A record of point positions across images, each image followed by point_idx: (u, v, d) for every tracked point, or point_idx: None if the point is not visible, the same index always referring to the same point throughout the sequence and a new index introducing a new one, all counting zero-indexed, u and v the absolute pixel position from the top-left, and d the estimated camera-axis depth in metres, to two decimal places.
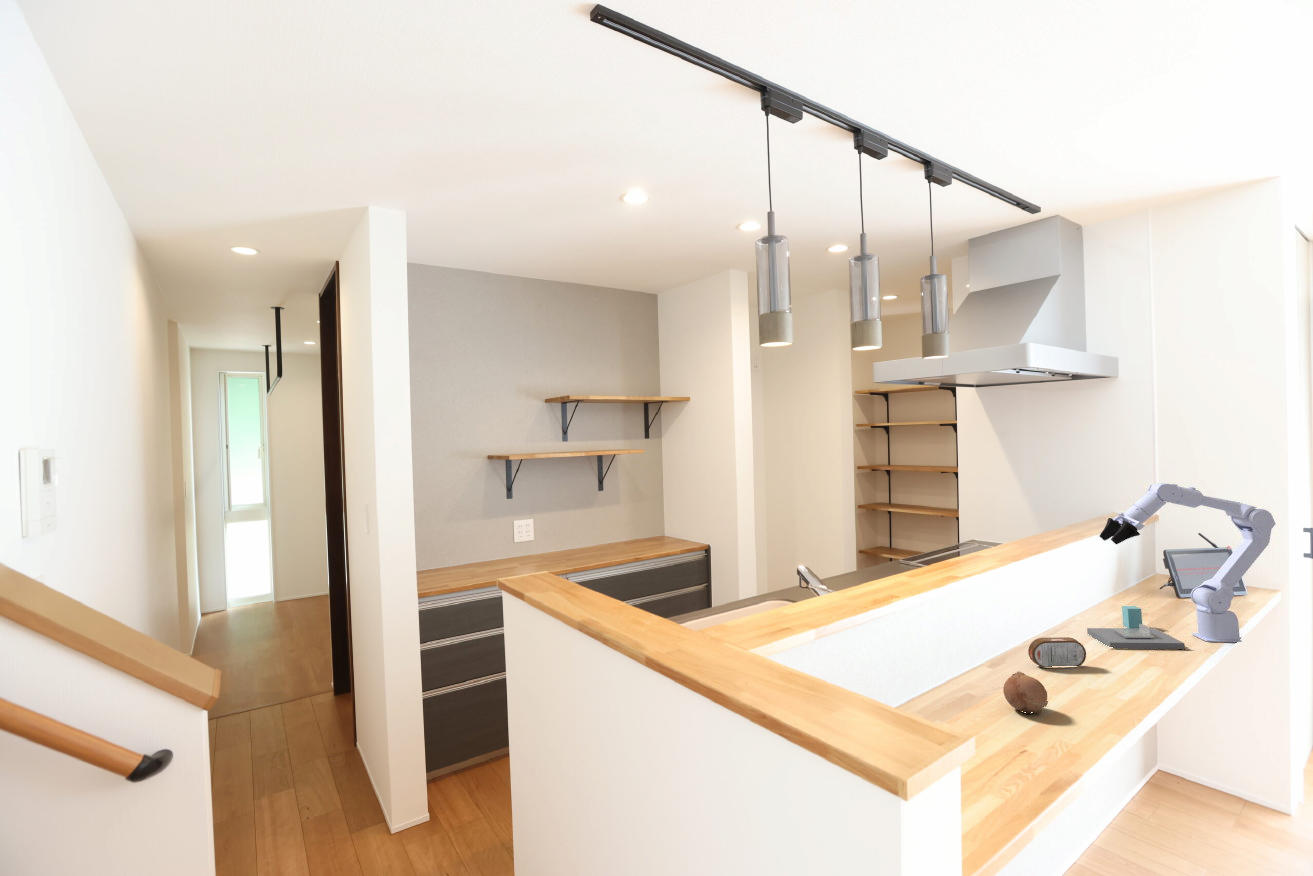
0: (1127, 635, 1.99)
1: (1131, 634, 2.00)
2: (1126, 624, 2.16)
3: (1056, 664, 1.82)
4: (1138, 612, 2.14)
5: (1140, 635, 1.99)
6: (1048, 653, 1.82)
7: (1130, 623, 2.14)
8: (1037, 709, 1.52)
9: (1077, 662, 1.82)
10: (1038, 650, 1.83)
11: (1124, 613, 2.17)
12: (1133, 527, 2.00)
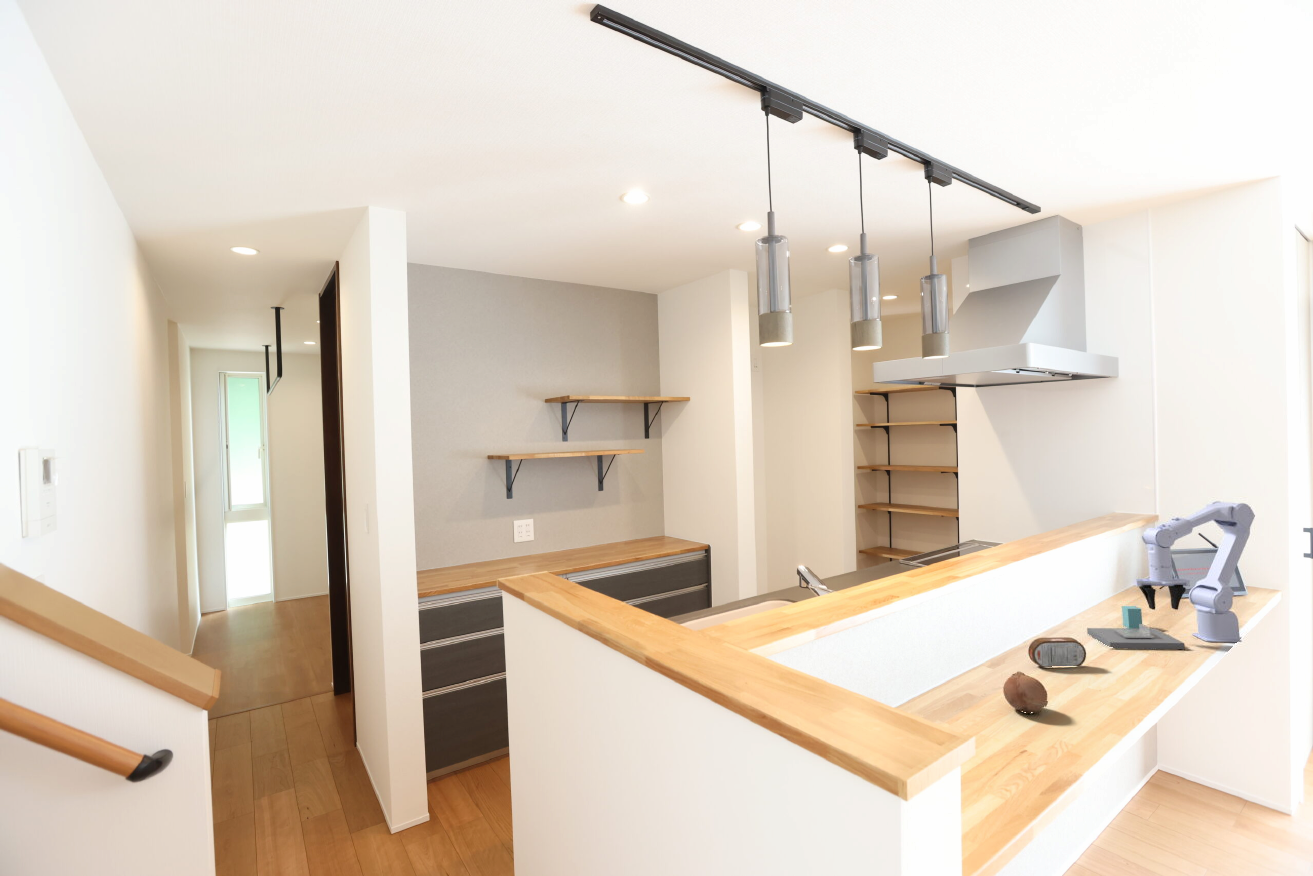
0: (1127, 635, 1.99)
1: (1131, 634, 2.00)
2: (1126, 624, 2.16)
3: (1056, 664, 1.82)
4: (1138, 612, 2.14)
5: (1140, 635, 1.99)
6: (1048, 653, 1.82)
7: (1130, 623, 2.14)
8: (1037, 709, 1.52)
9: (1077, 662, 1.82)
10: (1038, 650, 1.83)
11: (1124, 613, 2.17)
12: None
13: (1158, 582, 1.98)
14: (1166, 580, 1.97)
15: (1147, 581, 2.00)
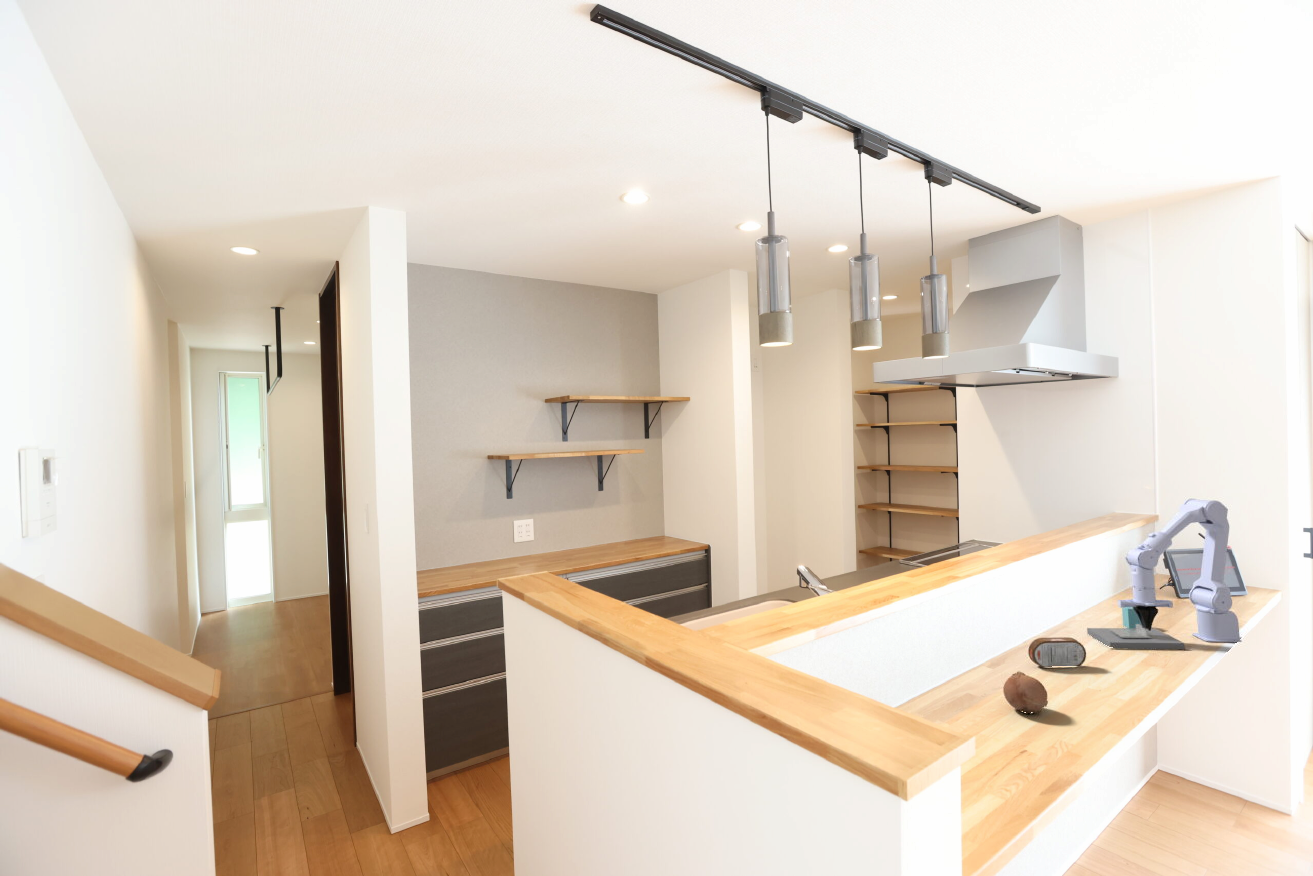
0: (1123, 635, 1.99)
1: (1127, 634, 2.00)
2: (1126, 624, 2.16)
3: (1056, 664, 1.82)
4: None
5: (1136, 635, 1.99)
6: (1048, 653, 1.82)
7: (1130, 623, 2.14)
8: (1037, 709, 1.52)
9: (1077, 662, 1.82)
10: (1038, 650, 1.83)
11: (1124, 613, 2.17)
12: None
13: (1141, 603, 1.99)
14: (1149, 601, 1.98)
15: (1130, 602, 2.01)
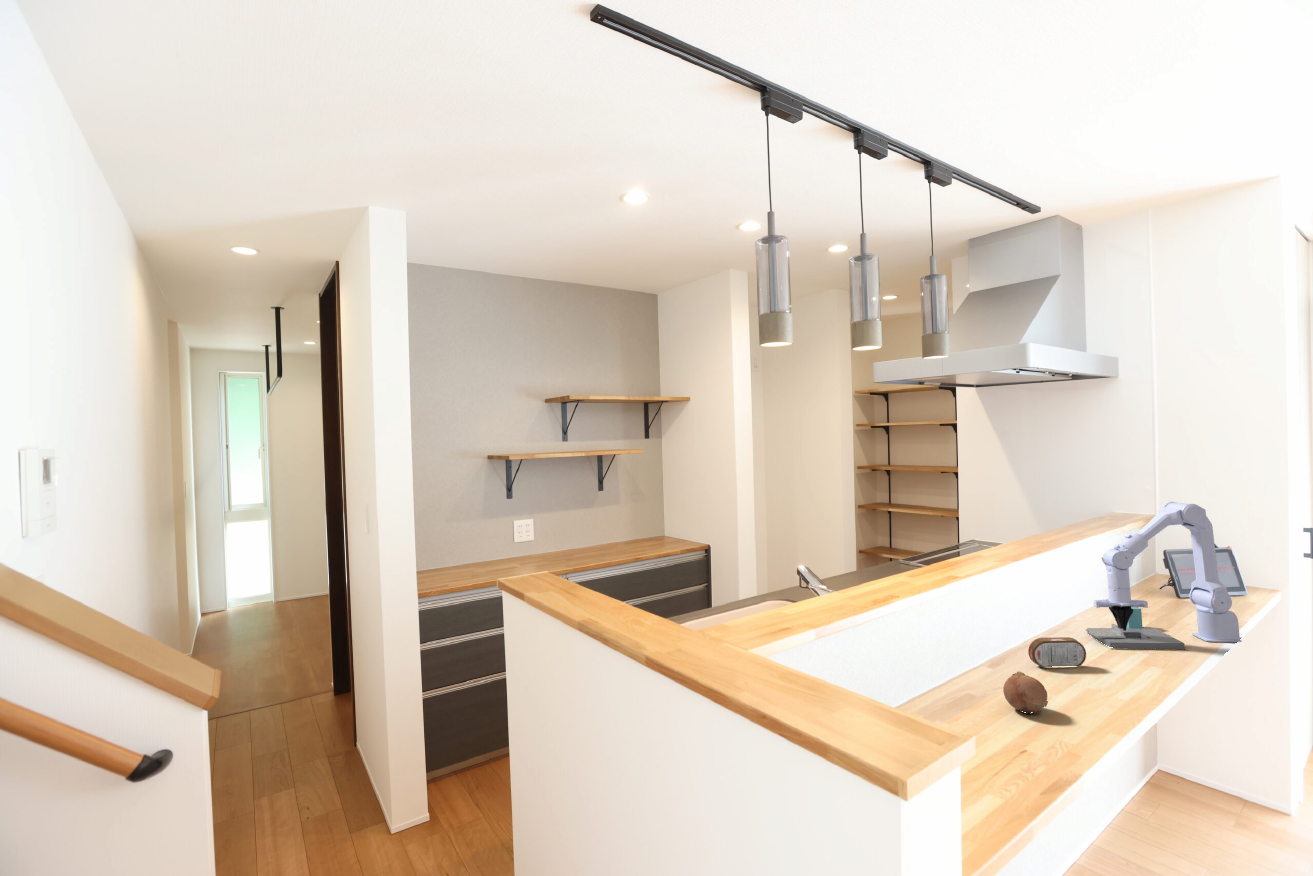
0: (1099, 635, 2.01)
1: (1103, 634, 2.02)
2: None
3: (1056, 664, 1.82)
4: (1138, 612, 2.14)
5: (1111, 635, 2.00)
6: (1048, 653, 1.82)
7: (1130, 623, 2.14)
8: (1037, 709, 1.52)
9: (1077, 662, 1.82)
10: (1038, 650, 1.83)
11: None
12: None
13: (1116, 603, 2.01)
14: (1124, 602, 2.00)
15: (1106, 602, 2.02)
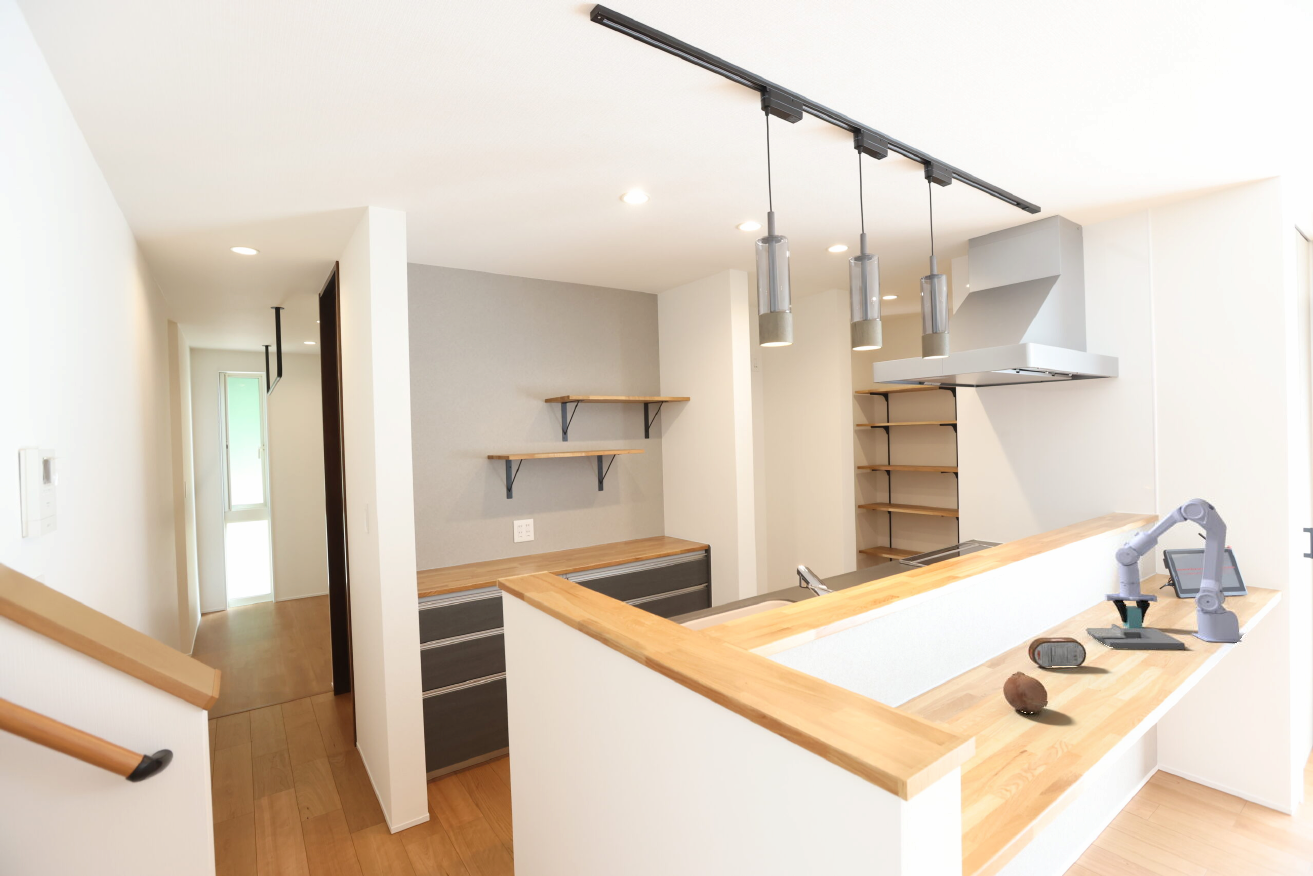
0: (1099, 635, 2.01)
1: (1103, 634, 2.02)
2: (1126, 624, 2.16)
3: (1056, 664, 1.82)
4: (1138, 612, 2.14)
5: (1111, 635, 2.00)
6: (1048, 653, 1.82)
7: (1130, 623, 2.14)
8: (1037, 709, 1.52)
9: (1077, 662, 1.82)
10: (1038, 650, 1.83)
11: None
12: None
13: (1126, 597, 2.14)
14: (1133, 596, 2.13)
15: (1116, 596, 2.16)
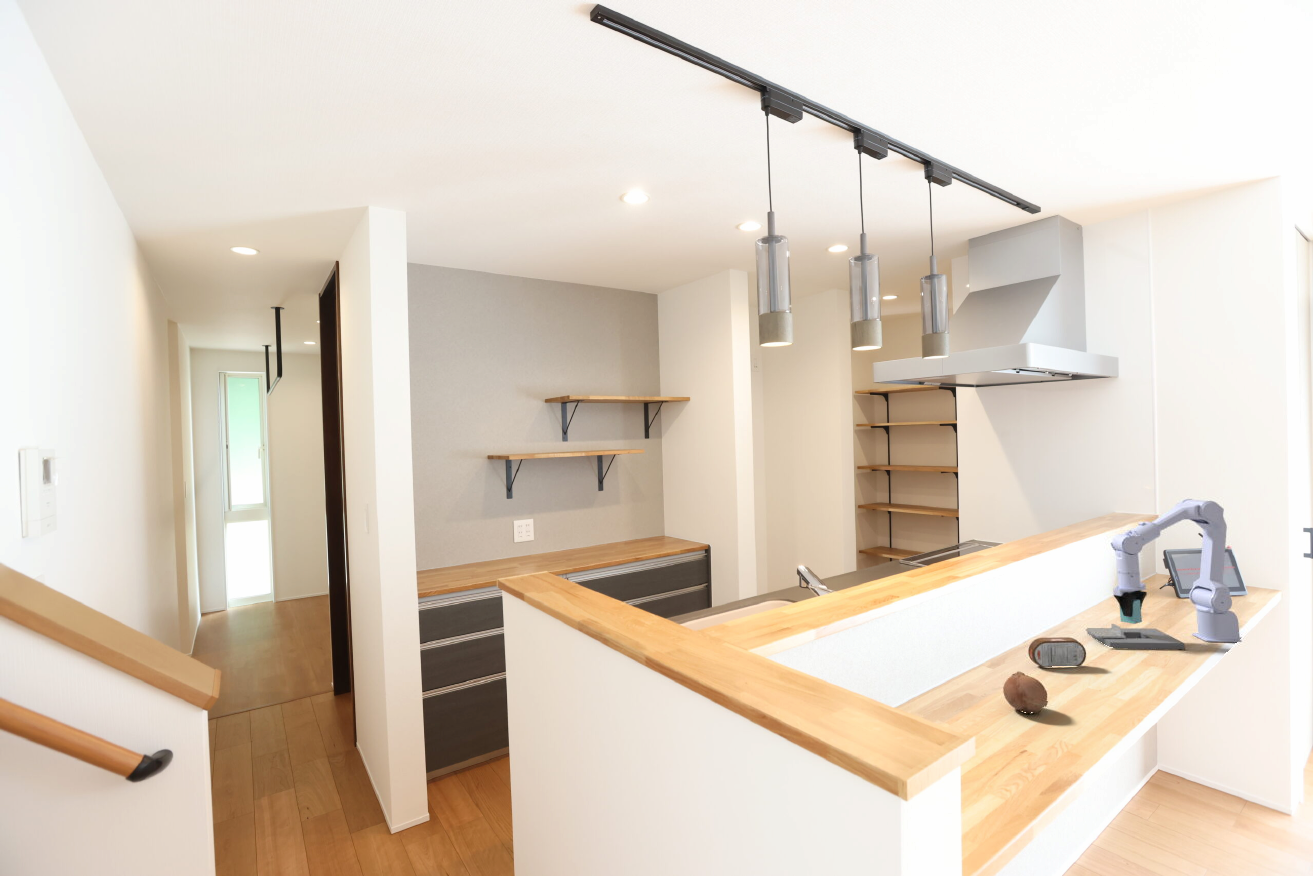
0: (1099, 635, 2.01)
1: (1103, 634, 2.02)
2: (1127, 618, 2.01)
3: (1056, 664, 1.82)
4: (1138, 604, 2.01)
5: (1111, 635, 2.00)
6: (1048, 653, 1.82)
7: (1134, 617, 2.00)
8: (1037, 709, 1.52)
9: (1077, 662, 1.82)
10: (1038, 650, 1.83)
11: None
12: None
13: (1134, 589, 1.99)
14: (1139, 586, 2.00)
15: (1126, 589, 1.99)
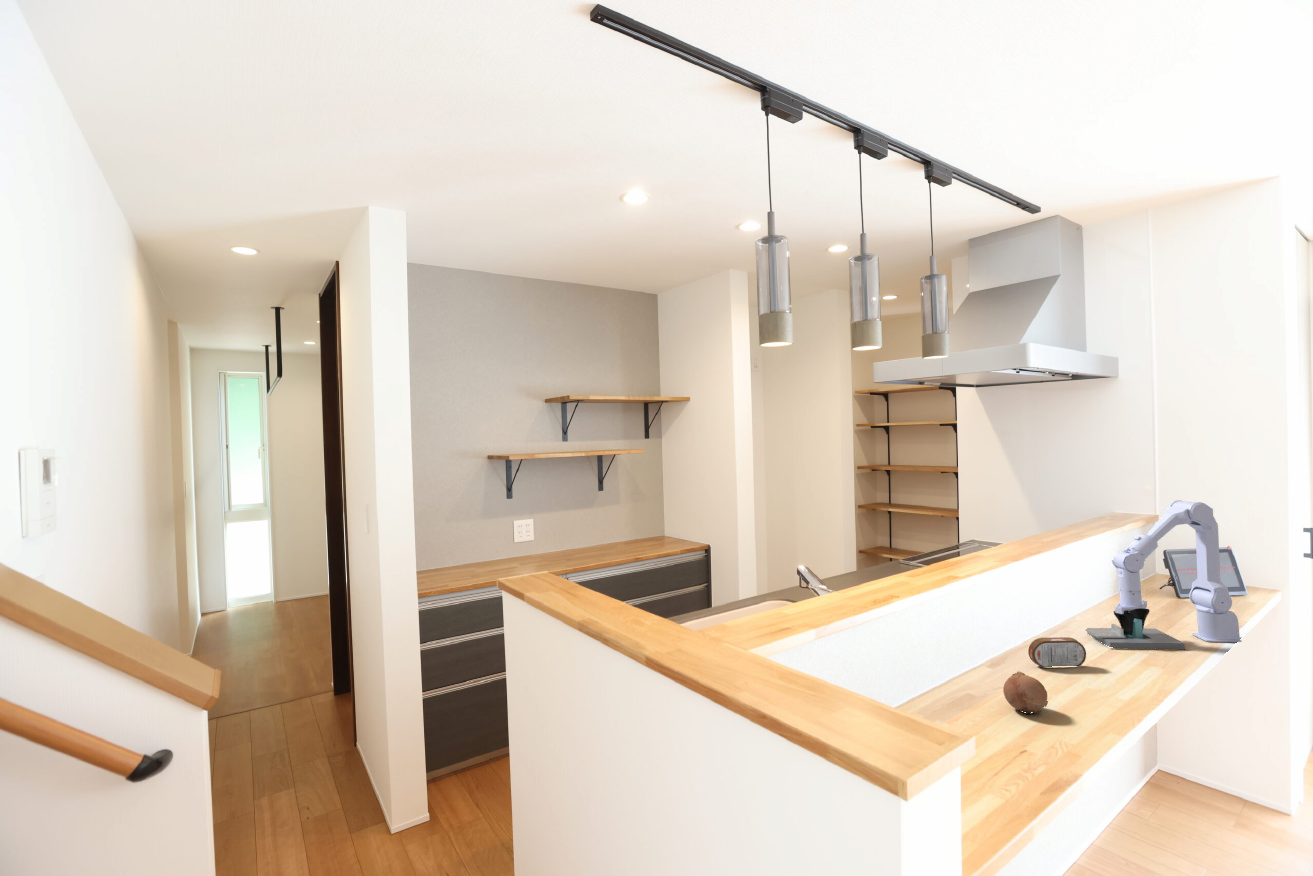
0: (1099, 635, 2.01)
1: (1103, 634, 2.02)
2: None
3: (1056, 664, 1.82)
4: (1140, 624, 2.01)
5: (1111, 635, 2.00)
6: (1048, 653, 1.82)
7: (1137, 637, 1.99)
8: (1037, 709, 1.52)
9: (1077, 662, 1.82)
10: (1038, 650, 1.83)
11: None
12: None
13: (1136, 607, 1.99)
14: (1140, 604, 1.99)
15: (1128, 607, 1.98)
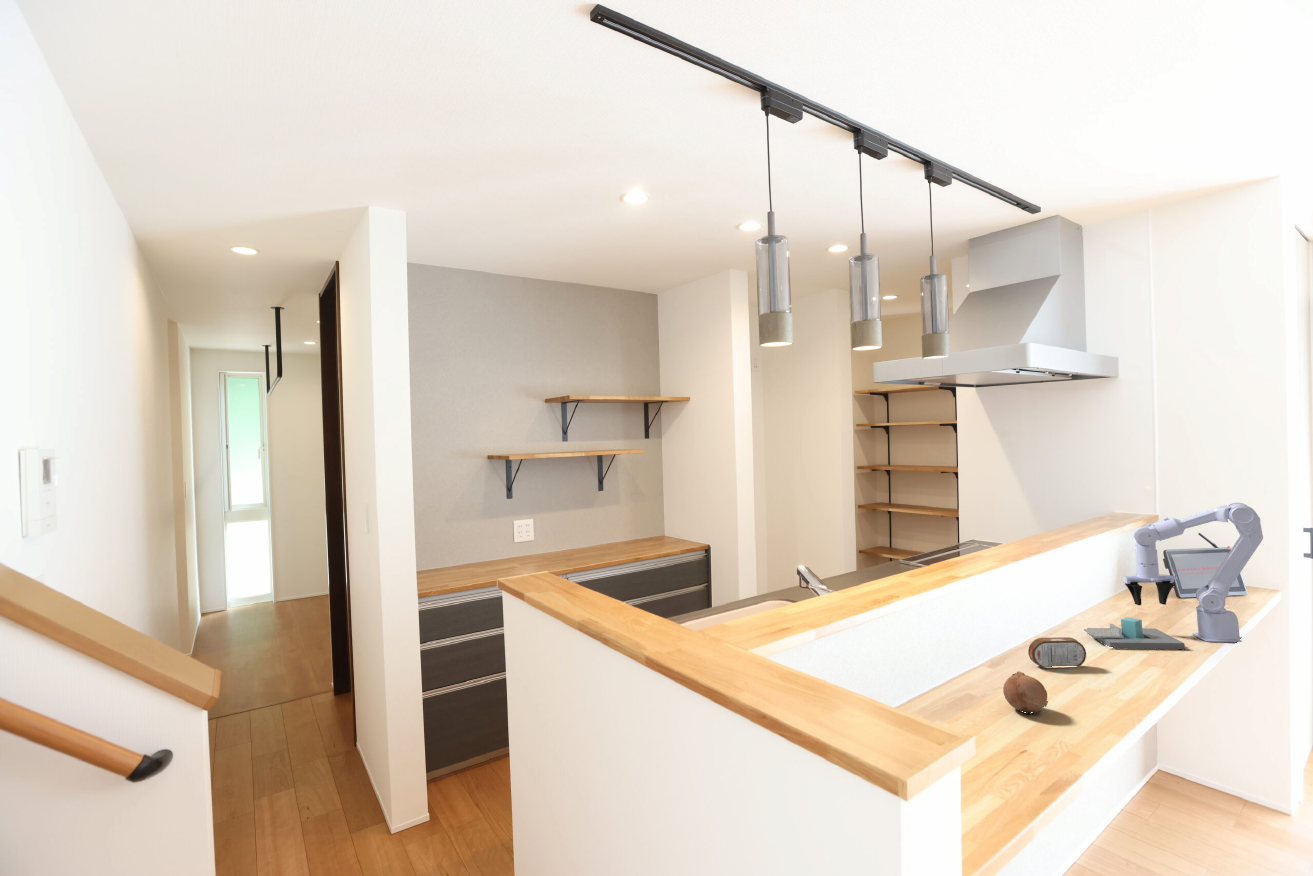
0: (1097, 635, 2.01)
1: (1101, 634, 2.02)
2: None
3: (1056, 664, 1.82)
4: (1140, 624, 2.01)
5: (1110, 635, 2.00)
6: (1048, 653, 1.82)
7: (1137, 637, 1.99)
8: (1037, 709, 1.52)
9: (1077, 662, 1.82)
10: (1038, 650, 1.83)
11: (1126, 627, 2.01)
12: None
13: (1146, 579, 2.07)
14: (1154, 577, 2.07)
15: (1136, 578, 2.09)
